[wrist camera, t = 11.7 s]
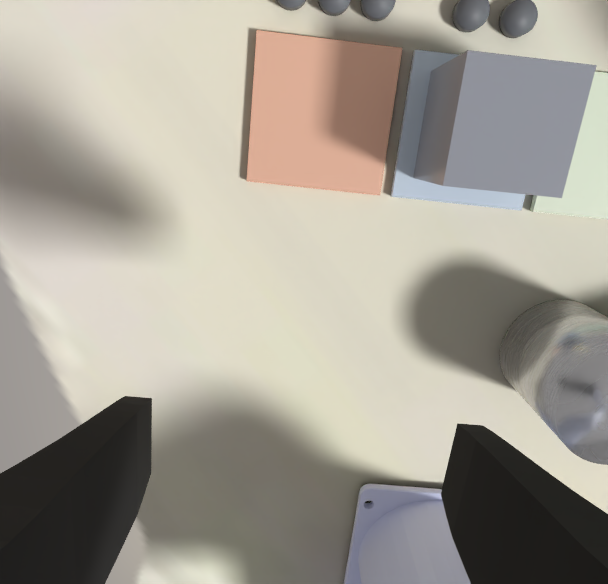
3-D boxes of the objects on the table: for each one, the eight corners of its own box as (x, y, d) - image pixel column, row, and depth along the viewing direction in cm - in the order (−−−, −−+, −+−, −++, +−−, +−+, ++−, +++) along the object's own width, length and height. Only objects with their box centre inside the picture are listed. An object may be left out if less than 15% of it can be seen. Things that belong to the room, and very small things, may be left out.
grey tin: (589, 401, 23) (667, 469, 18) (488, 392, 22) (541, 459, 18) (620, 304, 21) (714, 350, 16) (513, 294, 21) (577, 338, 16)
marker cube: (508, 187, 19) (561, 198, 15) (413, 177, 19) (442, 185, 15) (532, 82, 18) (596, 65, 14) (430, 70, 18) (467, 50, 14)
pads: (653, 223, 20) (662, 225, 19) (247, 180, 19) (245, 181, 19) (718, 28, 18) (730, 24, 17) (261, -31, 17) (260, -36, 16)
